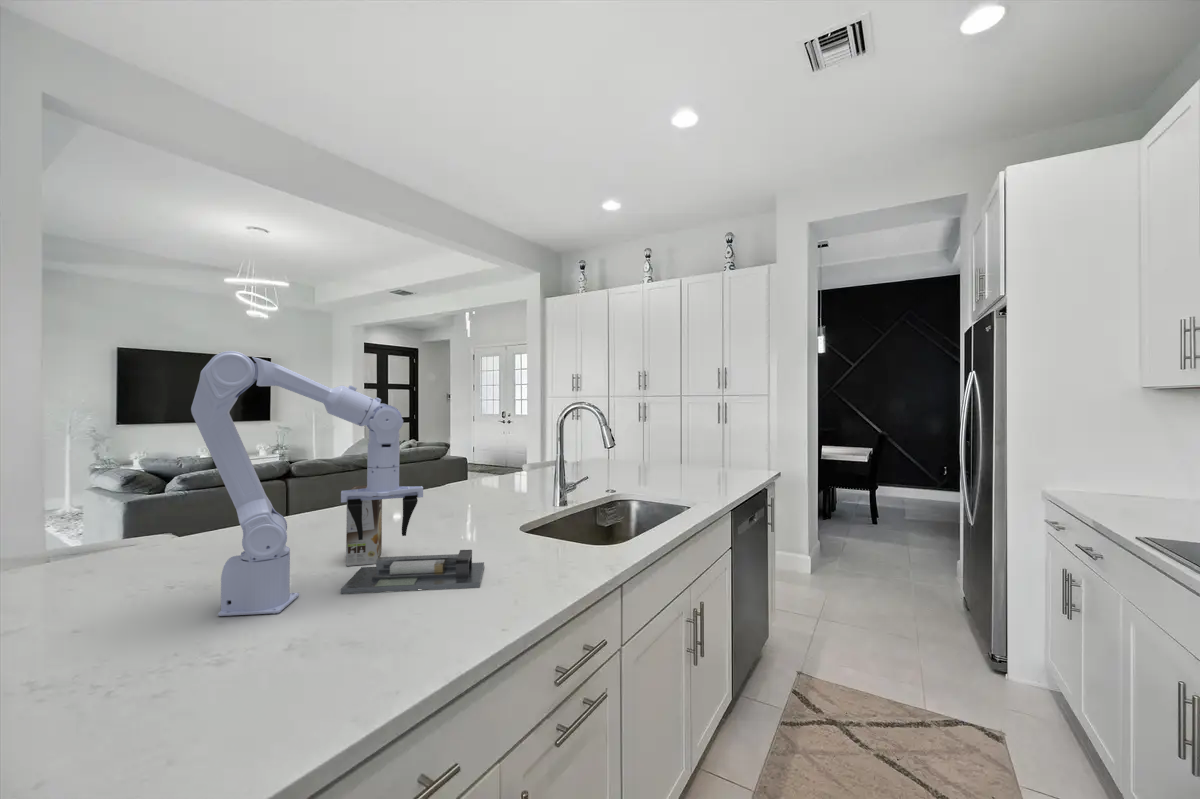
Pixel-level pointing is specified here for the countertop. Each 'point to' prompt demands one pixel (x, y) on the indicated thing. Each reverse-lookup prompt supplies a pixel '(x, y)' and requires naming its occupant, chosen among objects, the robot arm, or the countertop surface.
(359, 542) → the coffee box
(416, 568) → the rectangular block
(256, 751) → the countertop surface
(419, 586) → the heatsink base
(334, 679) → the countertop surface
